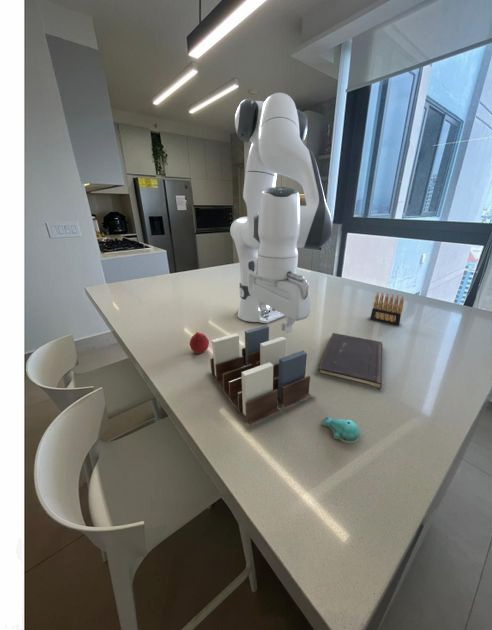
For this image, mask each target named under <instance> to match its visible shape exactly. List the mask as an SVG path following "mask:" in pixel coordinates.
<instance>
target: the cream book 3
mask: <svg viewBox="0 0 492 630" xmlns="http://www.w3.org/2000/svg"><path fill="white" fill-rule="evenodd" d="M286 351H287V338H286V337H285V336H280V337H277V338H273V339H269V341H267V342H264V343H261V344H260V365H263V364H266V363H269V362H270V363H271V364H272V365H275V364H278V363H279V359H280V358H283V357H286V356H287V355H286V353H287V352H286Z"/></svg>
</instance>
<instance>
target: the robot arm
mask: <svg viewBox="0 0 492 630" xmlns="http://www.w3.org/2000/svg"><path fill="white" fill-rule="evenodd" d="M234 128H235V131H236V135H237V137H238V138H239V139H240V140H241V141H243V142H245V143H251V144H250V148H249V151H248V155H247V159H246V164H245V171H244V181H243V189H242V190H243V191H242V199H243V201H244V202H245V206H246V216H240V217H238V218H236V219H234V220H233V221H232V223H231V225H230V228H229V232H230V233H229V234H230V236H231V238H232V240H233V242H234V246H235V249H236V254H237V258H238V262H239V280H240V281H239V297H240V298H239V307H238V312H237V317H238V319H240V320H241V321H244V322H249V323H260V324H268V323H271V322H273V321H275V320H278V319H280V318H283V317H284V319H285V322H284V323H282V324H281V331H282V332H284V333H285V334H288V333H291V332H292V331H293V325H294V324H295V322H297V321H298V322H299V321H302V320H305V319H307V318H308V317H309V316H310V314H311V292H310V286H309V285H310V284H309V282H308V281H307V280H306V277H304V276H303V275H299V274H298V262H299V259H298V258H299V248H300V249H301V248H303V249H308V250H316V251H317V250H319V249H320V248H322V247H323V246H324V245H326V244H327V243H328V242H329V241H330V239H331V237H332V232H333V220H332V214H331V211H330V209H329V207H328V204H327V201H326V198H325V193H324V189H323V185H322V184H323V183H322V180H321V175H320V171H319V167H318V164H317V160H316V157H315V154H314V152H313V151H312V150H311V149H309V148H308V147H307V146H306V145H305V144H304V141H305V139H306V137H307V132H308V118H307V115H306V113H304V112H303V111H301V110H300V109H299V108H297V105H296V103H295V101H294V99H293V98H292V97H291V95H289V94H286V93H285V92H275V93H272V94H271V95H269V96H268V97H267V98H266V99H265V101H263V100H255V98H245V99H243V100H241V102H239V105H238V107H237V108H236V112H235V115H234ZM278 175H280V176H284V177H286V178H289V179H291V180H294V181H295V182H297V183H298V184H299V185H300V186H301V187H302V191H303V196H304V200H305V205H301V199H300V193H299V191H298V190H296V189H295V188H292V187H287V186H276V184H277V180H278V179H277V178H278Z"/></svg>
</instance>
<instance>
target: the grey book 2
mask: <svg viewBox="0 0 492 630" xmlns="http://www.w3.org/2000/svg"><path fill="white" fill-rule="evenodd" d="M307 358H308V352H307V351H305V350H300V351H297V352H295V353H292V354H289V355H286V356H285V357H283V358H280V359H279V376H278V398H279V399H280V400H281V401H282V387H283V386H285V385H287V384H290V383H292V382H295V381H297V380H299V379H302V378H304V377H306V371H307Z"/></svg>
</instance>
